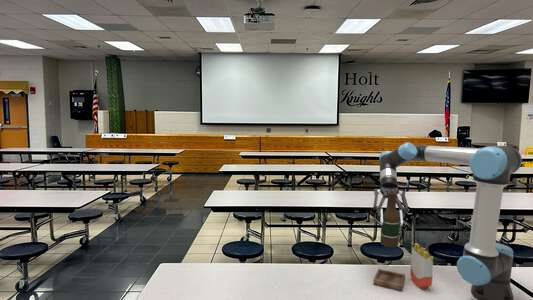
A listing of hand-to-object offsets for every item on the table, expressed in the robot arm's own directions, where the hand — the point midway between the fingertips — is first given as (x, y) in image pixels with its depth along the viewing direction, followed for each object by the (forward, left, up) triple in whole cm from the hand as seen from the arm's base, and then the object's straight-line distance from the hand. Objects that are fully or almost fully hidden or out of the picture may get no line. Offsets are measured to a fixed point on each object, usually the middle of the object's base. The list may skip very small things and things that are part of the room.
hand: (391, 224), depth 153 cm
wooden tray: (0, -3, -28) cm, 28 cm away
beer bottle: (+1, -3, -11) cm, 11 cm away
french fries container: (-13, -8, -28) cm, 32 cm away
